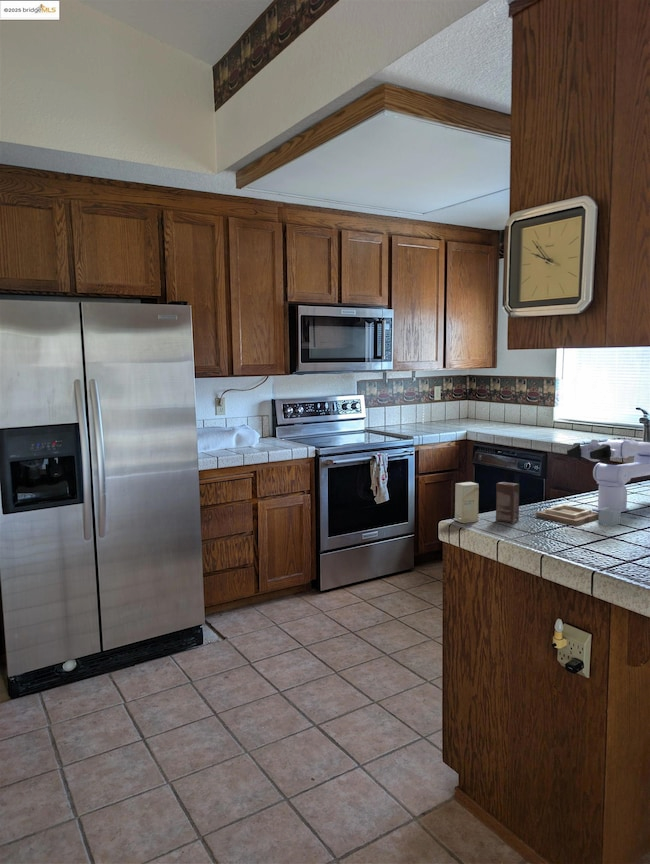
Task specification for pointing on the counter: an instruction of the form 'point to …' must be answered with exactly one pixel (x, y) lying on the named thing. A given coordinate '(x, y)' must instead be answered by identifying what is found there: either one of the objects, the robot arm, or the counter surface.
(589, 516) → the base board
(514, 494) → the box
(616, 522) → the block
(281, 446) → the counter surface
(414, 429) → the counter surface
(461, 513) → the skincare box
